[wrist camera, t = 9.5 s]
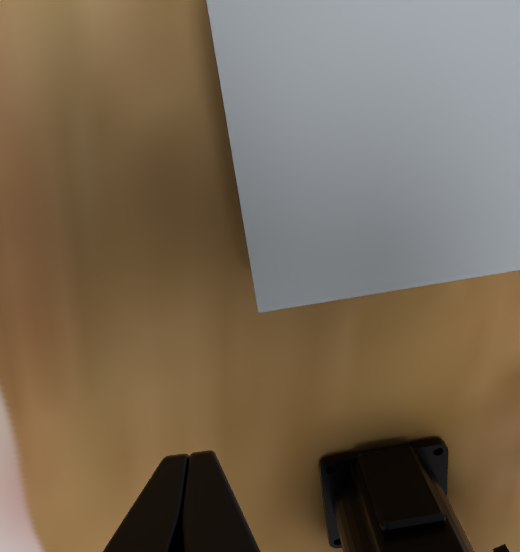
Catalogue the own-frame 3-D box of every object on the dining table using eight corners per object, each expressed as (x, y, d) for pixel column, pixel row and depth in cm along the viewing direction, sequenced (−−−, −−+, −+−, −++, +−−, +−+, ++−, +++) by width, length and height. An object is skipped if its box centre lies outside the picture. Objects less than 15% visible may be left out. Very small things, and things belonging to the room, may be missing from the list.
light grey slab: (538, 224, 20) (597, 257, 17) (251, 271, 20) (258, 312, 17) (570, -64, 16) (658, -92, 13) (206, -7, 16) (202, -21, 13)
